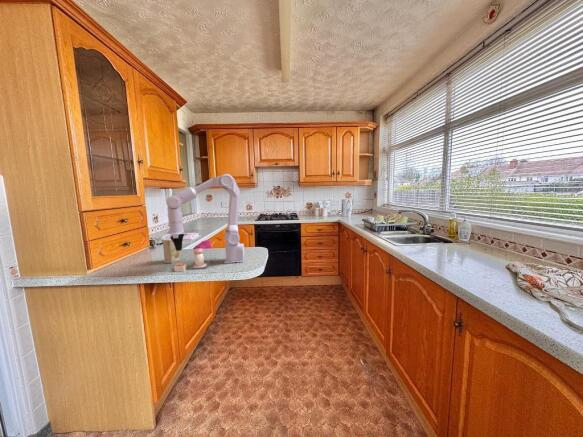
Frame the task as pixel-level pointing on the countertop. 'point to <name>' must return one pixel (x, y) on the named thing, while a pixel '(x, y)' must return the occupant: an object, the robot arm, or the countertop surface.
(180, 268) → the button housing
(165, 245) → the skincare box
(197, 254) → the rose marker
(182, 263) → the button
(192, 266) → the picture board
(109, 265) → the countertop surface
